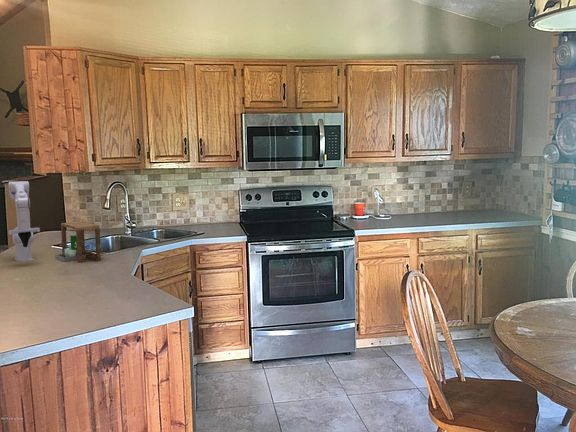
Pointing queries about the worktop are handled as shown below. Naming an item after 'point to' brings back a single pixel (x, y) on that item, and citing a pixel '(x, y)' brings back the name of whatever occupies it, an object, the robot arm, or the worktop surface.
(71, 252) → the mint green capsule
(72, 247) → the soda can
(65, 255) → the pale green rounded cylinder
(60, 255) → the tray
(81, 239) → the small wooden stool
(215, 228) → the worktop surface
